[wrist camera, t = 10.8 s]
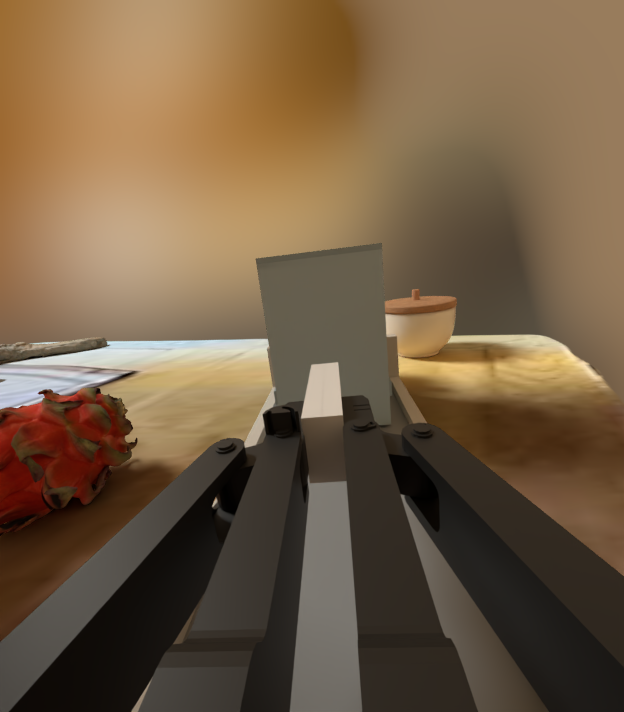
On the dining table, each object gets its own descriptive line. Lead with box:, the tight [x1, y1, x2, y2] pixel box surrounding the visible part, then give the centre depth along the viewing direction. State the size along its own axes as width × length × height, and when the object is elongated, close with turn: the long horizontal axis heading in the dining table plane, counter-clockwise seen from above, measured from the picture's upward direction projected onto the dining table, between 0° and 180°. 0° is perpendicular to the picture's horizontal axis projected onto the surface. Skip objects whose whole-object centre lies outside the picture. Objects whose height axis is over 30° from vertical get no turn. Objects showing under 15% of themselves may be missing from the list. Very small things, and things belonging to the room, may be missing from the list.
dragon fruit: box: [0, 388, 137, 536], centre depth 21 cm, size 8×8×12 cm
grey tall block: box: [256, 243, 392, 425], centre depth 28 cm, size 9×9×14 cm
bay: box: [131, 334, 549, 712], centre depth 21 cm, size 30×14×6 cm, turn 176°
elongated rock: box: [0, 338, 107, 363], centre depth 84 cm, size 35×5×10 cm
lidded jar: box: [385, 289, 457, 358], centre depth 46 cm, size 11×11×9 cm
